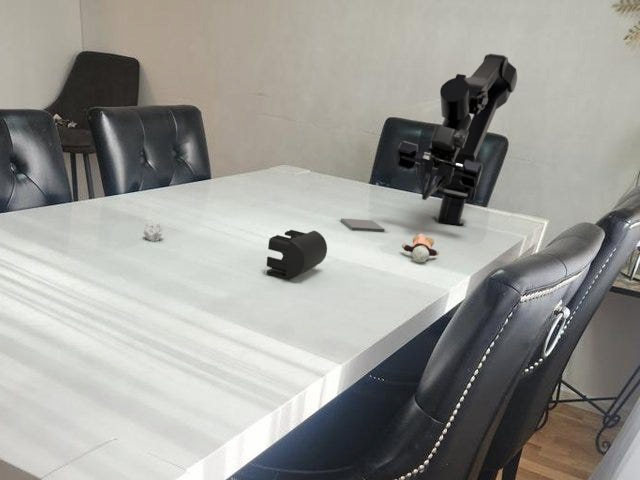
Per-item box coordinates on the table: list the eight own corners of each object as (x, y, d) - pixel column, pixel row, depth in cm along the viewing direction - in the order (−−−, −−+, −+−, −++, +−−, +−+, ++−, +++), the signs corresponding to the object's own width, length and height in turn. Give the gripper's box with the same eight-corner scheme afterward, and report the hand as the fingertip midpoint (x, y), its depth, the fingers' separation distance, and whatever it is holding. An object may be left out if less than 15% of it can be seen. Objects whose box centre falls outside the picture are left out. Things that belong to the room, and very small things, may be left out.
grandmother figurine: (439, 233, 137) (441, 244, 126) (437, 252, 139) (439, 265, 128) (402, 233, 138) (401, 244, 127) (401, 251, 140) (400, 264, 129)
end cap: (300, 285, 110) (306, 244, 106) (264, 275, 112) (268, 235, 108) (324, 272, 117) (330, 234, 114) (289, 263, 120) (294, 225, 116)
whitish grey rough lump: (139, 238, 122) (139, 221, 120) (155, 236, 124) (155, 219, 123) (151, 243, 120) (151, 226, 119) (166, 240, 123) (167, 224, 121)
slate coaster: (340, 220, 153) (341, 218, 153) (372, 222, 155) (372, 220, 155) (351, 230, 147) (352, 227, 146) (384, 231, 149) (384, 229, 148)
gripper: (412, 98, 136) (383, 163, 135) (498, 122, 132) (469, 189, 131) (410, 134, 147) (383, 194, 146) (489, 156, 143) (463, 219, 142)
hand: (423, 198), depth 141 cm, fingers closed
